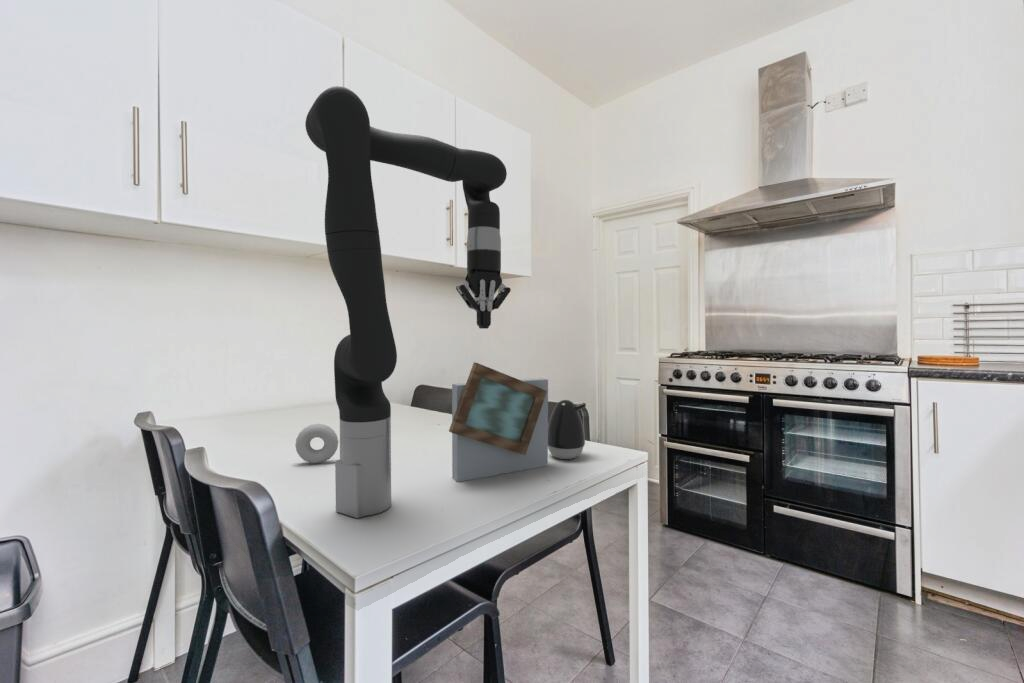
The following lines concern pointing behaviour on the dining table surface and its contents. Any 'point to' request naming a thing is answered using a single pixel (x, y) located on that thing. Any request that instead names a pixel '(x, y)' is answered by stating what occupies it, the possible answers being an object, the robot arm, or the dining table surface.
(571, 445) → the black electric kettle
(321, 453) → the donut
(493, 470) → the wall board
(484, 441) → the picture frame
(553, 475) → the dining table surface
